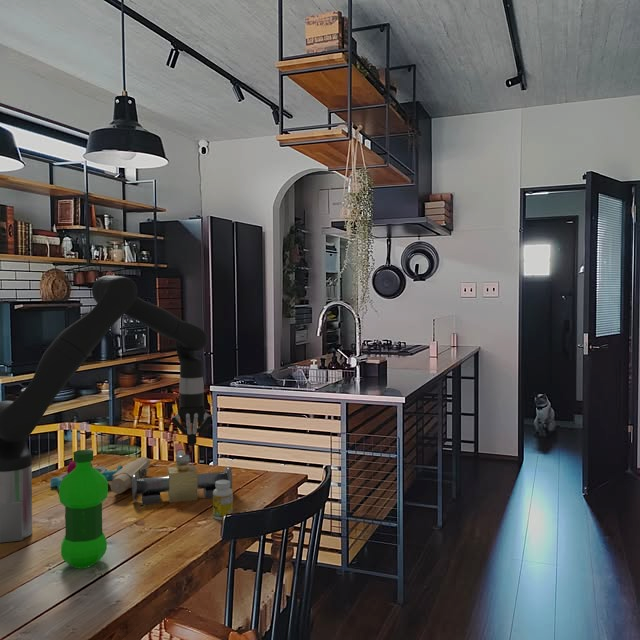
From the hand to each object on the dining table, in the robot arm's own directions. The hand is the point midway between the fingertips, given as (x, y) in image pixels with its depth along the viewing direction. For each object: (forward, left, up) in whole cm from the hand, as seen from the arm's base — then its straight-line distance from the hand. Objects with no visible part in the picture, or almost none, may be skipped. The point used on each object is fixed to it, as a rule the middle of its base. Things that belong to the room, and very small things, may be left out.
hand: (191, 445), depth 193 cm
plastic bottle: (-51, +29, -13) cm, 60 cm away
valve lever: (-5, +4, -2) cm, 7 cm away
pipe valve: (-12, +4, -12) cm, 18 cm away
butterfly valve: (+7, +28, -13) cm, 31 cm away
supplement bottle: (-31, -5, -13) cm, 34 cm away
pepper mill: (-31, +31, -13) cm, 46 cm away
